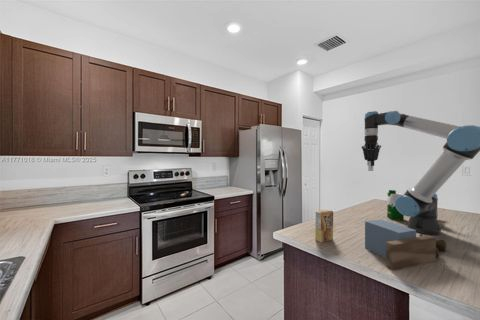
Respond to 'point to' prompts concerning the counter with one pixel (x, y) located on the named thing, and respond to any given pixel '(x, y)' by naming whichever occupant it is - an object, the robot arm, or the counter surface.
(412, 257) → the board
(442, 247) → the kendama
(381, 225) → the block
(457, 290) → the counter surface
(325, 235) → the candy box
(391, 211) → the milk carton
